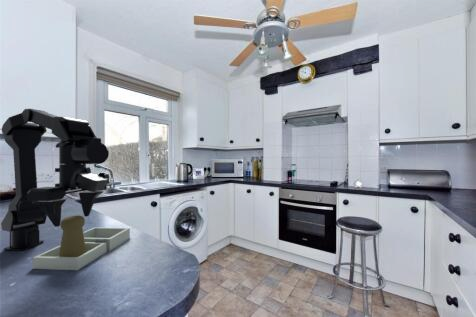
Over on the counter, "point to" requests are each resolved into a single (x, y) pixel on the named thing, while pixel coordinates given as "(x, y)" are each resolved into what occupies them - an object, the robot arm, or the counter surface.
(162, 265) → the counter surface
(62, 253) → the cork
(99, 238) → the case
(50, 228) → the counter surface
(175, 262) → the counter surface
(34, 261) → the lid
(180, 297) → the counter surface
